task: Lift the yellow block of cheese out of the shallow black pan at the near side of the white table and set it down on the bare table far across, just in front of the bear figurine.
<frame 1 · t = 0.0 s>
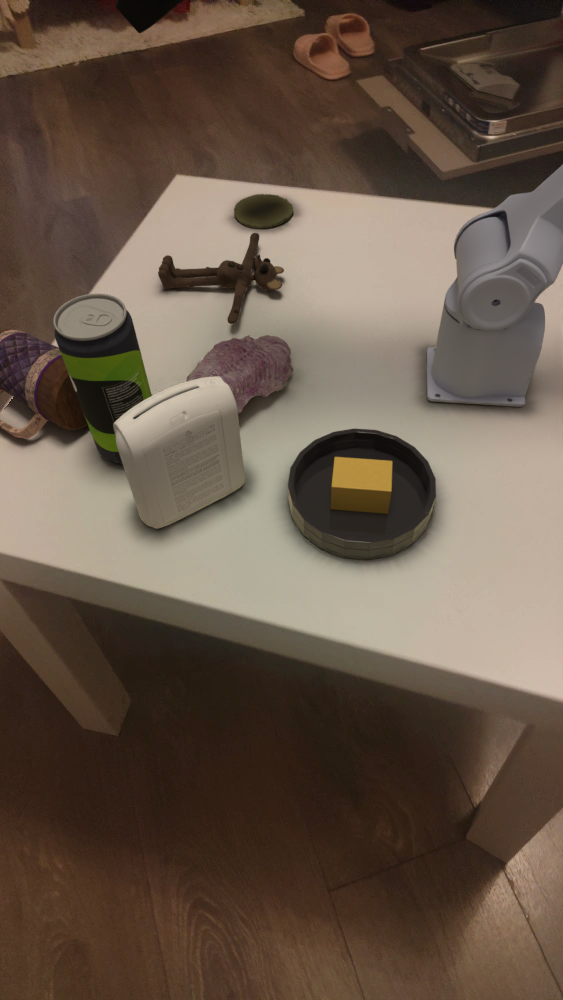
cheese: (360, 496, 58), resting on pan
mug: (76, 412, 62), point 3 cm above the table
beverage can: (131, 445, 64), on the table
medallion: (263, 207, 88), point 1 cm above the table
photo printer: (193, 497, 60), on the table
bear figurine: (224, 287, 79), on the table
fossil: (240, 392, 68), on the table
pan: (359, 500, 59), on the table
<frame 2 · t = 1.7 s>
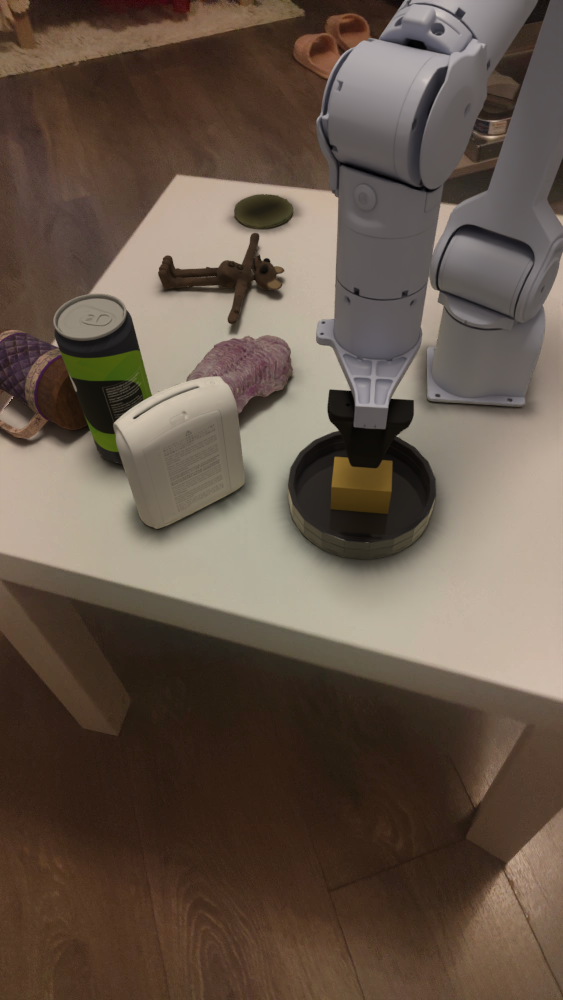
hand: (366, 426, 51), 9 cm above the table, tool pointing down, fingers open, 7 cm apart
nothing on the table moved.
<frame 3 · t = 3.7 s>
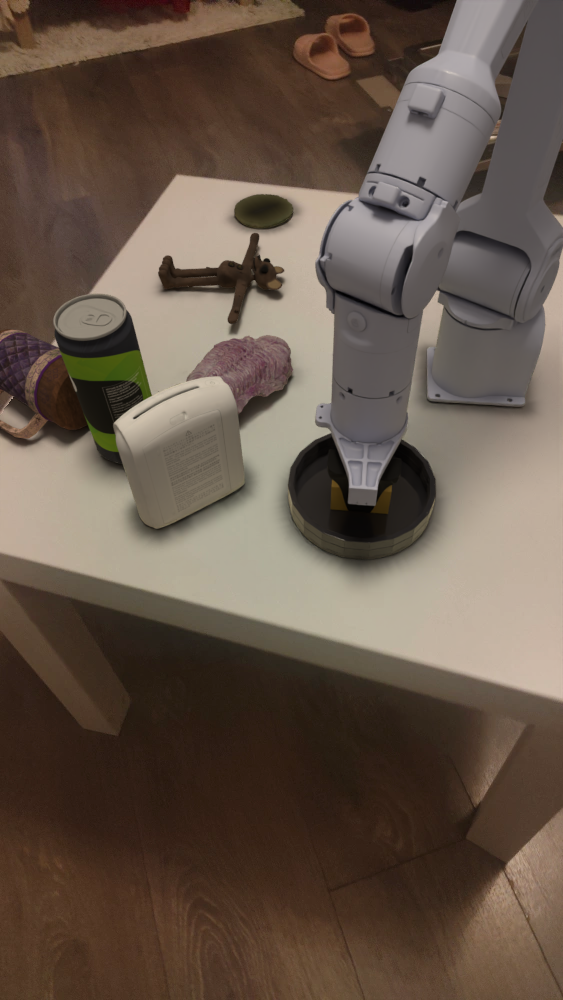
hand: (360, 490, 58), 1 cm above the table, tool pointing down, fingers closed on cheese, 3 cm apart
cheese: (360, 496, 58), point 1 cm above the table, touching gripper, pan
everything else where it was.
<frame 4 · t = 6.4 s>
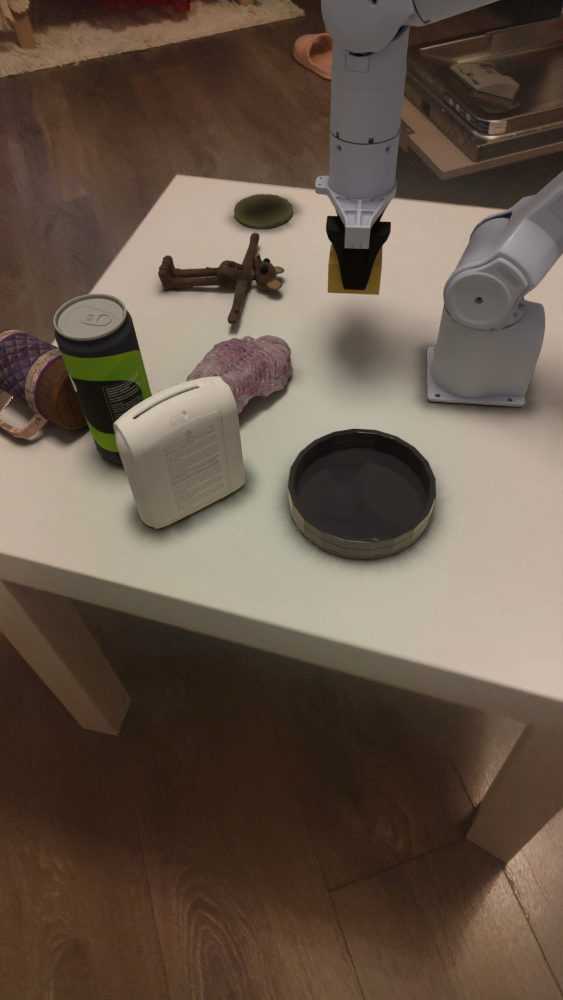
hand: (355, 275, 64), 9 cm above the table, tool pointing down, fingers closed on cheese, 3 cm apart
cheese: (354, 283, 65), point 8 cm above the table, touching gripper
everything else where it was.
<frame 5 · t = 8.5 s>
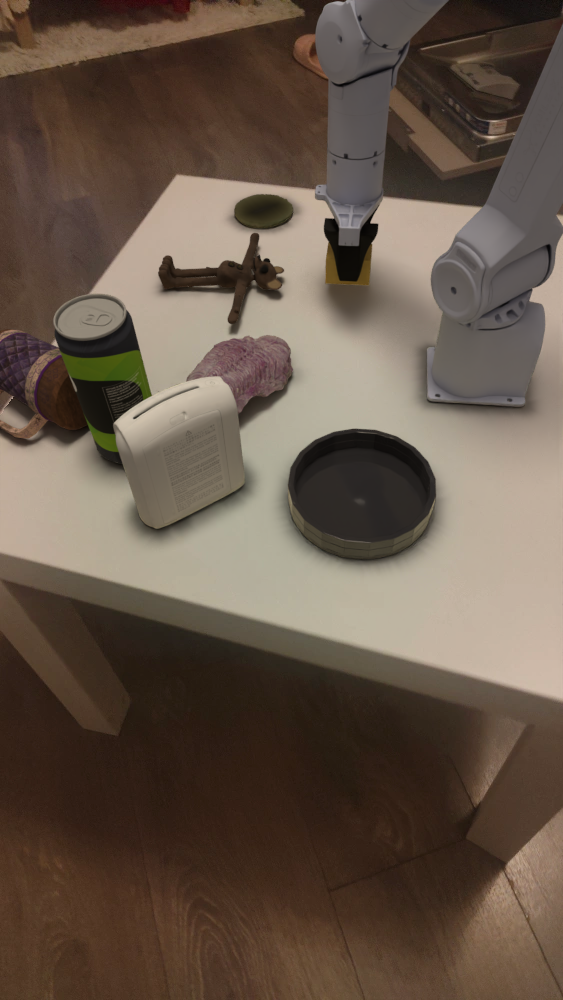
hand: (349, 269, 75), 3 cm above the table, tool pointing down, fingers closed on cheese, 3 cm apart
cheese: (348, 276, 76), point 2 cm above the table, touching gripper
everything else where it was.
when the fingers open (1 cm above the table, at t = 9.6 s): cheese stays where it is, on the table.
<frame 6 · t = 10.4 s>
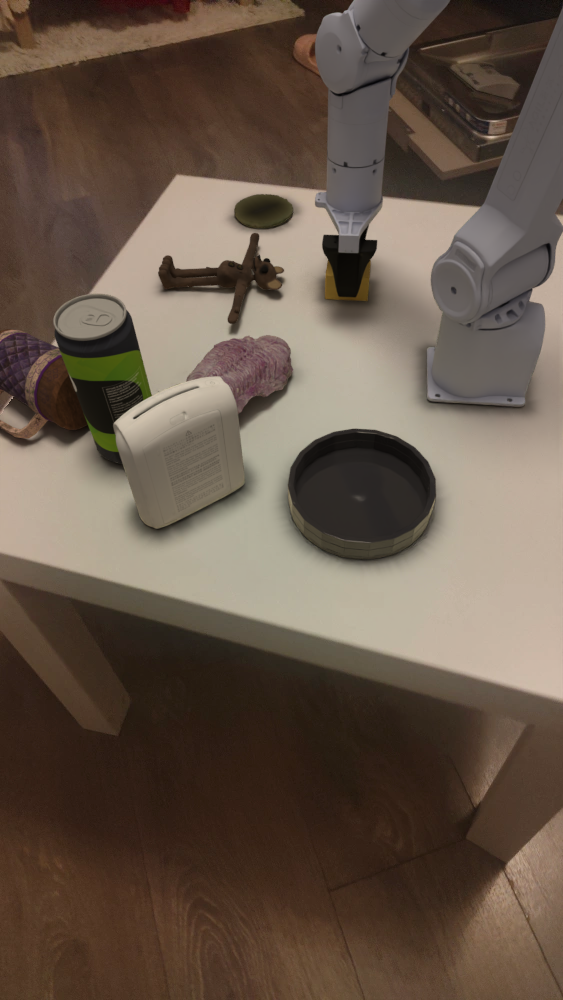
hand: (349, 275, 76), 2 cm above the table, tool pointing down, fingers open, 7 cm apart
cheese: (347, 291, 78), on the table
everything else where it was.
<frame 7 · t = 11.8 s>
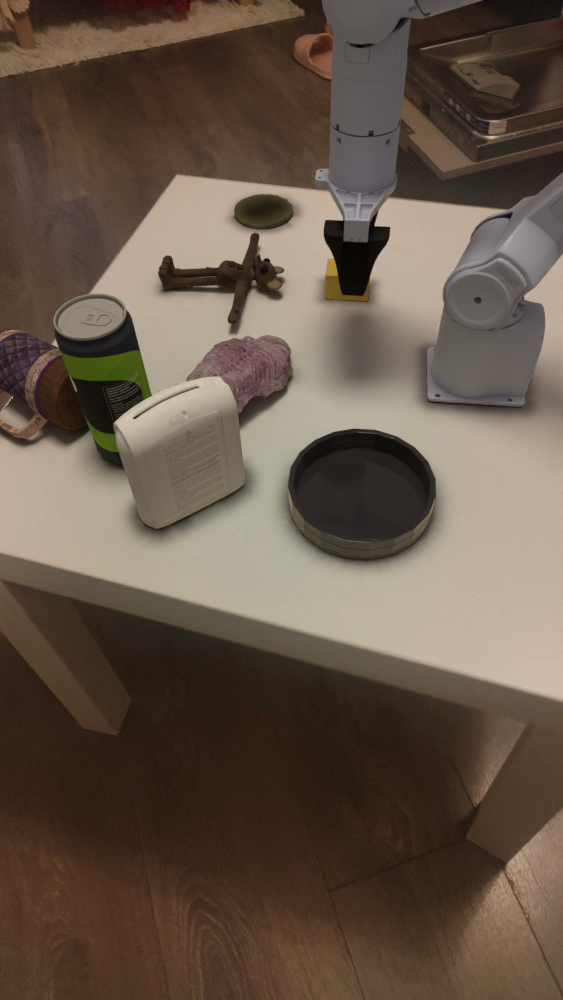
hand: (355, 269, 64), 9 cm above the table, tool pointing down, fingers open, 7 cm apart
nothing on the table moved.
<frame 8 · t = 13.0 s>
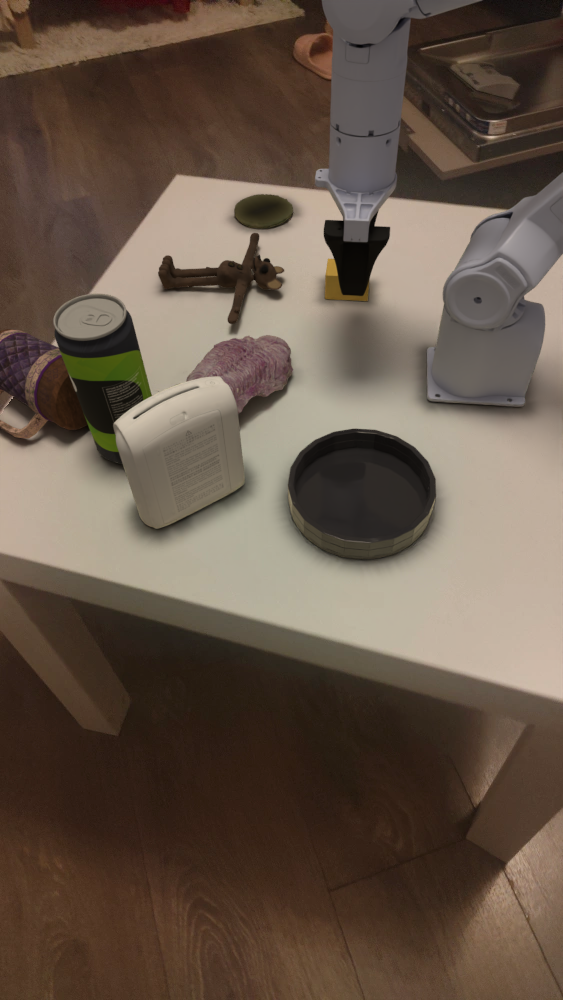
hand: (355, 269, 64), 9 cm above the table, tool pointing down, fingers open, 7 cm apart
nothing on the table moved.
at the end: cheese inside the target area on the table beside the bear figurine (0.2 cm from its centre), on the table; the gripper is holding nothing; cheese tilted 0° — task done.
